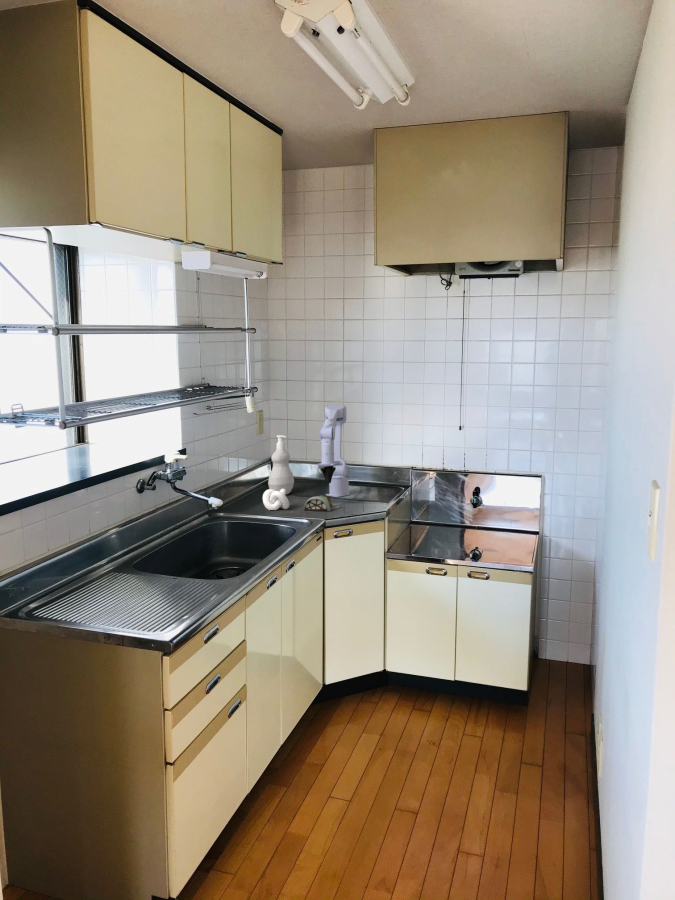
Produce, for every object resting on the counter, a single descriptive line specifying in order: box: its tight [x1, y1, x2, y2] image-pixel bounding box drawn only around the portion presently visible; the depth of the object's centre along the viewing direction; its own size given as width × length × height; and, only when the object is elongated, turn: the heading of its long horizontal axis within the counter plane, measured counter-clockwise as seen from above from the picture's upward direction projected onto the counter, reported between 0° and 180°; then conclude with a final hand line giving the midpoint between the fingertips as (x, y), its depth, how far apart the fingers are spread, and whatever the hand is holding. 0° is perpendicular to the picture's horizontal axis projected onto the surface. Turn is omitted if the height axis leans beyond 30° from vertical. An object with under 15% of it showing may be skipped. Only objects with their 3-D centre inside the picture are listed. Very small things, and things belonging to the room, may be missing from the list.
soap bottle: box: [267, 434, 295, 495], centre depth 356 cm, size 17×12×29 cm
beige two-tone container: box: [303, 494, 334, 512], centre depth 320 cm, size 12×6×10 cm
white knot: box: [262, 489, 290, 511], centre depth 322 cm, size 11×12×9 cm
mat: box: [302, 504, 341, 511], centre depth 325 cm, size 9×16×1 cm, turn 46°
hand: (328, 482), depth 328 cm, fingers closed
